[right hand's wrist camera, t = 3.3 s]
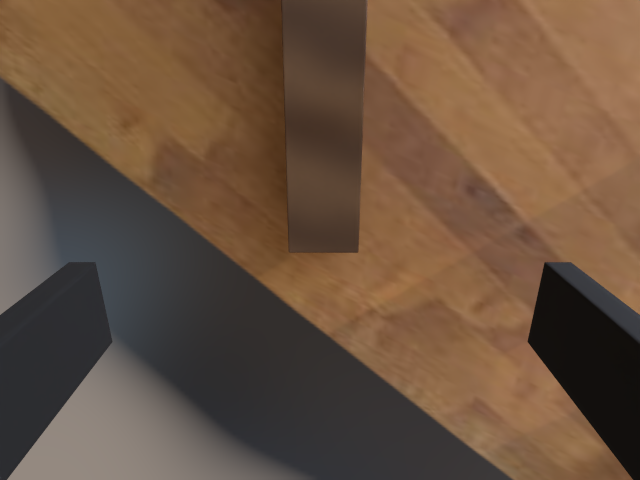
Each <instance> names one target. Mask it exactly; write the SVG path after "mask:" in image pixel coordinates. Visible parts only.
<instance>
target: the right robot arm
mask: <svg viewBox="0 0 640 480" xmlns="http://www.w3.org/2000/svg"><path fill="white" fill-rule="evenodd" d="M111 343H112V338H111V333H110V329H109V324H108V319H107V315H106V310H105V305H104V301H103V296H102V291H101V287H100V282H99V277H98V273H97V268H96V264H95V262H69V263H68V264H66V265H65V266H64V267H63V268H61V269H60V270H59V271H57V272H56V273H55V274H53V275H52V276H51V277H49V278H48V279H47V280H45V281H44V282H43V283H42V284H40V285H39V286H38V287H36V288H35V289H34V290H32V291H31V292H30V293H28V294H27V295H26V296H25V297H23V298H22V299H21V300H19V301H18V302H17V303H15V304H14V305H13V306H12V307H10V308H9V309H8V310H6V311H5V312H4V313H2V314H1V315H0V480H7V479H8V477H9V476H10V475H11V473H12V472H13V471H14V470H15V468H16V467H17V466H18V464H19V463H20V462H21V460H22V459H23V458H24V457H25V455H26V454H27V453H28V451H29V450H30V449H31V447H32V446H33V445H34V443H35V442H36V441H37V439H38V438H39V437H40V436H41V434H42V433H43V432H44V430H45V429H46V428H47V427H48V425H49V424H50V423H51V421H52V420H53V419H54V417H55V416H56V415H57V413H58V412H59V411H60V410H61V408H62V407H63V406H64V404H65V403H66V402H67V400H68V399H69V398H70V396H71V395H72V394H73V392H74V391H75V390H76V389H77V387H78V386H79V385H80V383H81V382H82V381H83V379H84V378H85V377H86V376H87V374H88V373H89V372H90V370H91V369H92V368H93V366H94V365H95V364H96V363H97V361H98V360H99V359H100V357H101V356H102V355H103V353H104V352H105V351H106V349H107V348H108V347H109V346H110V344H111ZM528 343H529V344H530V346H531V347H532V348H533V349H534V351H535V352H536V353H537V355H538V356H539V357H540V359H541V360H542V361H543V363H544V364H545V365H546V366H547V368H548V369H549V370H550V372H551V373H552V374H553V376H554V377H555V378H556V379H557V381H558V382H559V383H560V385H561V386H562V387H563V389H564V390H565V391H566V393H567V394H568V395H569V396H570V398H571V399H572V400H573V402H574V403H575V404H576V406H577V407H578V408H579V410H580V411H581V412H582V413H583V415H584V416H585V417H586V419H587V420H588V421H589V423H590V424H591V425H592V427H593V428H594V429H595V430H596V432H597V433H598V434H599V436H600V437H601V438H602V440H603V441H604V442H605V444H606V445H607V446H608V447H609V449H610V450H611V451H612V453H613V454H614V455H615V457H616V458H617V459H618V460H619V462H620V463H621V464H622V466H623V467H624V468H625V470H626V471H627V472H628V474H629V475H630V476H631V477H632V479H633V480H640V315H639V314H638V313H636V312H635V311H634V310H632V309H631V308H630V307H629V306H627V305H626V304H625V303H623V302H622V301H621V300H619V299H618V298H617V297H615V296H614V295H613V294H612V293H610V292H609V291H608V290H606V289H605V288H604V287H602V286H601V285H600V284H598V283H597V282H596V281H595V280H593V279H592V278H591V277H589V276H588V275H587V274H585V273H584V272H583V271H581V270H580V269H579V268H578V267H576V266H575V265H574V264H572V263H571V262H545V263H544V268H543V273H542V277H541V282H540V287H539V291H538V296H537V301H536V305H535V310H534V315H533V319H532V324H531V329H530V333H529V338H528Z"/></svg>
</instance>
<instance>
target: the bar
mask: <svg viewBox="0 0 640 480" xmlns="http://www.w3.org/2000/svg"><path fill="white" fill-rule="evenodd" d="M281 5H282V39H283V72H284V106H285V140H286V174H287V208H288V242H289V252H344V253H357V252H358V247H359V220H360V192H361V165H362V137H363V110H364V82H365V55H366V27H367V0H281Z"/></svg>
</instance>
